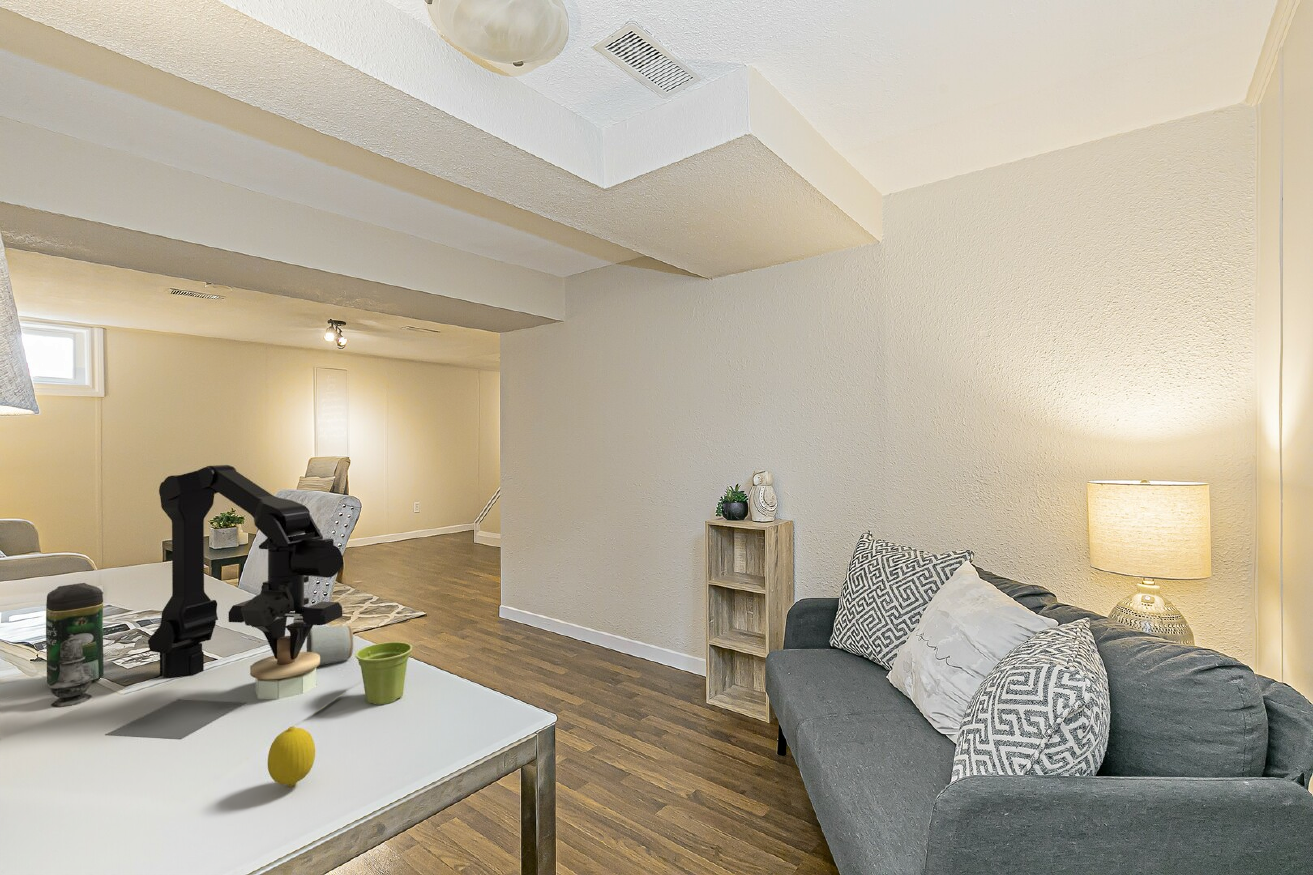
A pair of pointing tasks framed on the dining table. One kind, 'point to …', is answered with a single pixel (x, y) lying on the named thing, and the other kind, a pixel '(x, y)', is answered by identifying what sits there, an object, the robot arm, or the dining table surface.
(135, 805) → the dining table surface
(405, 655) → the plant pot
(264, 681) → the bowl
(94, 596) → the coffee jar
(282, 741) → the lemon
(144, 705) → the dining table surface
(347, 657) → the ceramic mug
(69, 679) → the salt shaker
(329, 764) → the dining table surface
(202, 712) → the mat
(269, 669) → the lid
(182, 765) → the dining table surface
